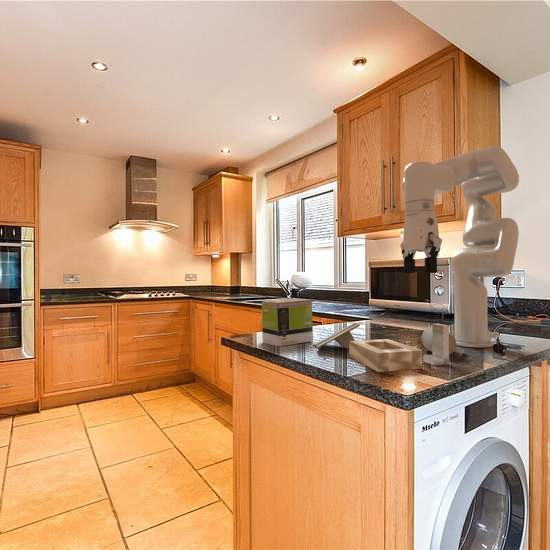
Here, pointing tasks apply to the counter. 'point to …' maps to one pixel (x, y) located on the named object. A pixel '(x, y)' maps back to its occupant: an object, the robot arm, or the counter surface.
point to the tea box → (287, 321)
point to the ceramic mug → (428, 342)
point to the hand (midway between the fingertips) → (419, 273)
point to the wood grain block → (439, 346)
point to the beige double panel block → (340, 337)
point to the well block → (385, 355)
